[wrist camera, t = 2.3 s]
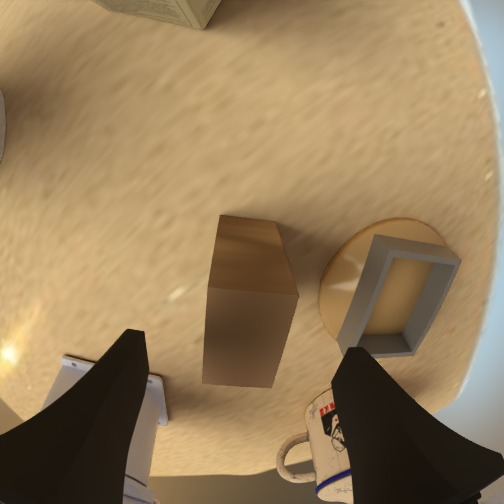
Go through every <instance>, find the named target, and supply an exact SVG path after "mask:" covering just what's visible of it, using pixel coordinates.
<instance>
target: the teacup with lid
mask: <svg viewBox="0 0 504 504" xmlns="http://www.w3.org/2000/svg"><path fill="white" fill-rule="evenodd" d="M305 421H306V426H307V431H308V432H304V433H300V434H297V435H294V436H292V437H290V438H289V439H287V440H286V441H285V442H284V443H283V445H282V446H281V447H280V449H279V451H278V454H277V458H276V466H277V470H278V472H279V474H280V475H281V476H282V477H283V478H284V479H286V480H288V481H290V482H295V483H303V482H309V481H314V480H317V485H318V486H317V488H316V493H317V494H318V497H320V499H322V500H325V501H341V502H345V503H349V504H353V489H352V478H351V470H350V463H349V458H348V453H347V449H346V446H345V442H344V438H343V435H342V431H341V428H340V424H339V421H338V417H337V413H336V410H335V406H334V400H333V393H332V389H330V390H328V391H326V392H325V393H323V394H321V395H320V396H319V397H317V398H316V399H315V400H314V401H313V402H312V403H311V404H310V405H309V407H308V408H307V410H306V413H305ZM307 441H309V442H310V447H311V453H312V458H313V464H314V469H315V472H310V473H305V474H294V473H292V472H289V471H288V470H287V469H286V468H285V466H284V460H285V457H286V454H287V453H288V451H289V450H290V449H291V448H292V447H293V446H295V445H297V444H299V443H302V442H307Z"/></svg>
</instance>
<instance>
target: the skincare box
mask: <svg viewBox="0 0 504 504" xmlns="http://www.w3.org/2000/svg"><path fill="white" fill-rule="evenodd" d="M91 1H93V2H95V3H96V4H98V5H100V6H101V7H103V8H105V9H106V10H108V11H112V12H118V13H124V14H130V15H136V16H141V17H146V18H151V19H156V20H161V21H165V22H170V23H174V24H178V25H183V26H187V27H191V28H195V29H199V30H203V29H204V28H205V27H206V25H207V24H208V22H209V20H210V19H211V17H212V15H213V14H214V12H215V10H216V9H217V7H218V5H219V4H220V2H221V0H91Z"/></svg>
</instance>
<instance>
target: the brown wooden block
mask: <svg viewBox="0 0 504 504" xmlns="http://www.w3.org/2000/svg"><path fill="white" fill-rule="evenodd" d="M298 298H299V293H298V290H297V287H296V284H295V281H294V278H293V274H292V271H291V268H290V265H289V262H288V259H287V256H286V253H285V250H284V247H283V243H282V240H281V237H280V234H279V231H278V228H277V225H276V222H274V221H266V220H258V219H250V218H241V217H233V216H224V215H220V217H219V223H218V229H217V234H216V240H215V246H214V252H213V258H212V264H211V270H210V276H209V282H208V290H207V304H206V319H205V335H204V353H203V374H202V383H204V384H215V385H226V386H240V387H259V388H272V385H273V382H274V379H275V376H276V373H277V370H278V366H279V363H280V360H281V357H282V353H283V350H284V347H285V344H286V340H287V337H288V333H289V330H290V327H291V323H292V320H293V316H294V313H295V309H296V306H297V302H298Z"/></svg>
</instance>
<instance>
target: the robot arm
mask: <svg viewBox="0 0 504 504" xmlns="http://www.w3.org/2000/svg"><path fill="white" fill-rule="evenodd" d="M60 360H61V363H62V367H61V369H60V371H59V373H58V375H57V377H56V379H55V381H54V383H53V385H52V387H51V389H50V391H49V393H48V395H47V397H46V399H45V402H44V404H43V406H42V408H41V410H40V412H39V413H38V414H36V415H35V416H33V417H32V418H30V419H29V420H27V421H25V422H24V423H22V424H20V425H18V426H17V427H15V428H13V429H11V430H10V431H8V432H6V433H4V434H2V435H0V504H160V502H159V501H158V500H156V499H154V496H155V490H152V489H149V488H148V481H149V474H150V468H151V461H152V455H153V449H154V443H155V437H156V432H157V426H158V425H162V426H167V425H168V416H167V409H166V402H165V395H164V387H163V380H162V378H161V377H159V376H156V375H150V374H149V363H148V356H147V349H146V341H145V333H144V331H139V330H133V329H127V330H125V331H124V332H123V334H122V335H121V336H120V337H119V338H118V339H117V340H116V342H115V343H114V344H113V345H112V346H111V347H110V348H109V349H108V350H107V352H106V353H105V354H104V355H103V356H102V357H101V358H100V359H99V360H98V361H97V362H96V363H91V362H87V361H83V360H80V359H76V358H72V357H68V356H64V355H63V356H62V357H61V359H60ZM331 385H332V393H333V400H334V406H335V410H336V413H337V417H338V421H339V424H340V428H341V431H342V435H343V438H344V442H345V446H346V449H347V453H348V458H349V463H350V470H351V478H352V489H353V504H478V501H477V500H478V499H480V498H481V493H480V491H481V490H482V489H484V488H485V487H487V486H488V485H490V484H491V483H493V482H494V481H496V480H497V479H498V478H500V477H501V476H503V475H504V459H503V457H502V455H501V454H500V453H498V452H495V451H492V450H490V449H487V448H485V447H482V446H480V445H478V444H476V443H474V442H472V441H470V440H468V439H466V438H464V437H463V436H461V435H459V434H458V433H456V432H454V431H453V430H451V429H450V428H448V427H447V426H445V425H444V424H442V423H441V422H440V421H438V420H437V419H436V418H434V417H433V416H432V415H431V414H430V413H428V412H427V411H426V410H425V409H424V408H422V407H421V406H420V405H419V404H418V403H417V402H416V401H415V400H414V399H413V398H412V397H410V396H409V395H408V394H407V393H406V392H405V391H404V390H403V389H402V388H401V387H400V386H399V385H398V384H397V382H396V381H395V380H394V379H393V378H392V377H391V376H390V375H389V374H388V373H387V372H386V371H385V370H384V369H383V368H382V366H381V365H380V364H379V363H378V362H377V361H376V360H375V359H374V358H373V357H372V356H371V355H370V354H369V353H368V352H367V351H366V350H365V349H364V348H363V347H348V349H347V351H346V353H345V355H344V358H343V360H342V362H341V364H340V366H339V368H338V370H337V372H336V374H335V376H334V378H333V379H332V381H331ZM479 504H504V496H503V493H502V491H501V490H499V491H497V492H496V493H494V494H493V495H491V496H489V497H488V498H486V499H485V500H483V501H482V502H480V503H479Z"/></svg>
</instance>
